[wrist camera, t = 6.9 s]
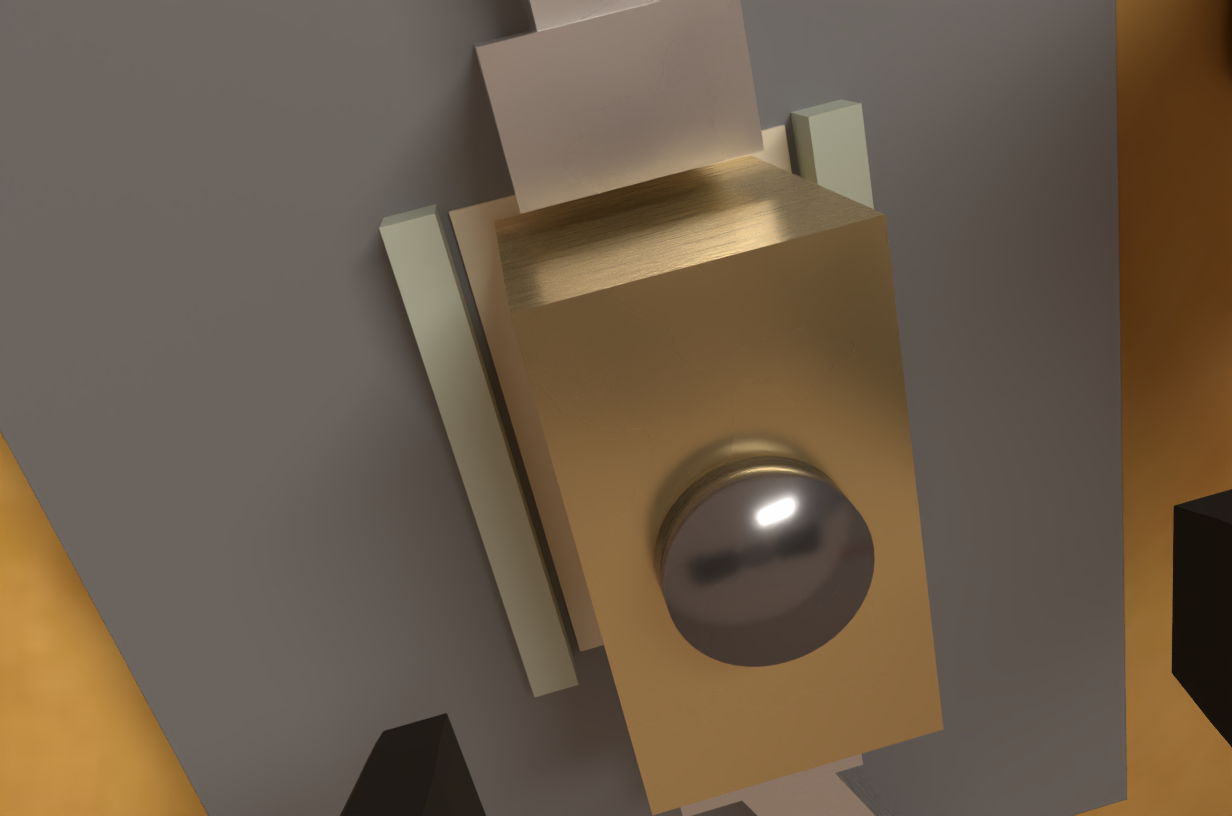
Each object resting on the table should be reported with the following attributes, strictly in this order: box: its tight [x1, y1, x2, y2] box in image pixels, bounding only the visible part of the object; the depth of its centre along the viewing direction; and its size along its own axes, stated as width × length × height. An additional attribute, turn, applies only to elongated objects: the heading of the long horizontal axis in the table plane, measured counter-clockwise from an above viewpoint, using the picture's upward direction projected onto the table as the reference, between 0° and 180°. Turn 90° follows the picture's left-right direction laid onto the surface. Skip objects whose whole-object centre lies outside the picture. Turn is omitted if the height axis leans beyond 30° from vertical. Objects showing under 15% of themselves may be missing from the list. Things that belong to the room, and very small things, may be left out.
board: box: [0, 0, 1127, 816], centre depth 16 cm, size 18×24×2 cm
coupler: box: [494, 155, 943, 815], centre depth 13 cm, size 7×4×6 cm, turn 13°
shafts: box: [474, 0, 899, 816], centre depth 15 cm, size 5×24×2 cm, turn 13°
